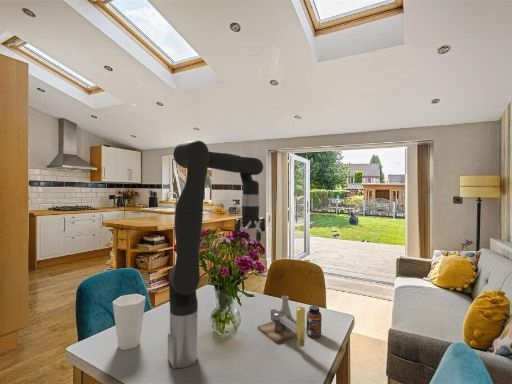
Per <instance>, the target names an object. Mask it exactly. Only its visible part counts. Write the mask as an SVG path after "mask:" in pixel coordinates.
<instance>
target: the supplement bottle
mask: <svg viewBox="0 0 512 384" xmlns="http://www.w3.org/2000/svg"><path fill="white" fill-rule="evenodd" d="M322 316H323V315H322V312H320V307H319V306H317V305H315V304H314V305H309V309H308V311H307V312H306V335H307V336H308V337H309V338H311V339H312V338H313V339H318V338H321V336H322Z"/></svg>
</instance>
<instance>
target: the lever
mask: <svg viewBox="0 0 512 384" xmlns="http://www.w3.org/2000/svg"><path fill="white" fill-rule="evenodd" d="M305 309H306V308H304V307H302V306H298V307H296V319H295V320H296V322H294V321H293V320H292V321H291V320H290V319H288V318H287V317H285V313H284V312H281V311H280V310H277V309H275V308H273V309H270V321H271V322H272V321H273V322H275V321H280V322H281V323H282V324H284V325H285V326H286V327H288V328H289V329H290V330H292V331H293V332H294V333H296V337H295V345H296V346H297V347H299V348H304V346H305V326H306V325H305V323H306V310H305Z"/></svg>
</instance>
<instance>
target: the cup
mask: <svg viewBox="0 0 512 384" xmlns="http://www.w3.org/2000/svg"><path fill="white" fill-rule="evenodd" d="M145 305H146V296H145V295H141V294H139V293H133V294H126V295H125V294H124V295H121V296H119V297H117V298H116V299H115V300H113V301H112V306H113V307H112V309H113V315H114V316H113V317H114V324H115V332H116V338H117V341H116V342H117V345H118V348H119V349H120V350H122V351H126V350H130V349H131V350H132V349H135V348H136V347H137V346H138V345H140V343H141V336H142V335H141V334H142V329H143V328H142V327H143V321H144V312H145Z"/></svg>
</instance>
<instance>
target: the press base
mask: <svg viewBox="0 0 512 384" xmlns="http://www.w3.org/2000/svg"><path fill="white" fill-rule="evenodd" d="M285 317H287V318H288V319H290V320H291V317H290V316H289V315H285ZM257 330H259V331H260V332H261V333H262V334H263V335H265V336H266V337H267V338H269V339H270V340H271V341H272V342H274V343H275V344H277V345H278V344H280V343H283V342H286V341H288V340H291V339H292V338H296V333H294V332H293V331H292V330H290V329H289V328H288V327H286V326H285V325H284V324H282V323H281V322H280V321H275V322H273V321H272V320H271V321H270V322H267V323H264V324H261V325H258V326H257Z"/></svg>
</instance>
